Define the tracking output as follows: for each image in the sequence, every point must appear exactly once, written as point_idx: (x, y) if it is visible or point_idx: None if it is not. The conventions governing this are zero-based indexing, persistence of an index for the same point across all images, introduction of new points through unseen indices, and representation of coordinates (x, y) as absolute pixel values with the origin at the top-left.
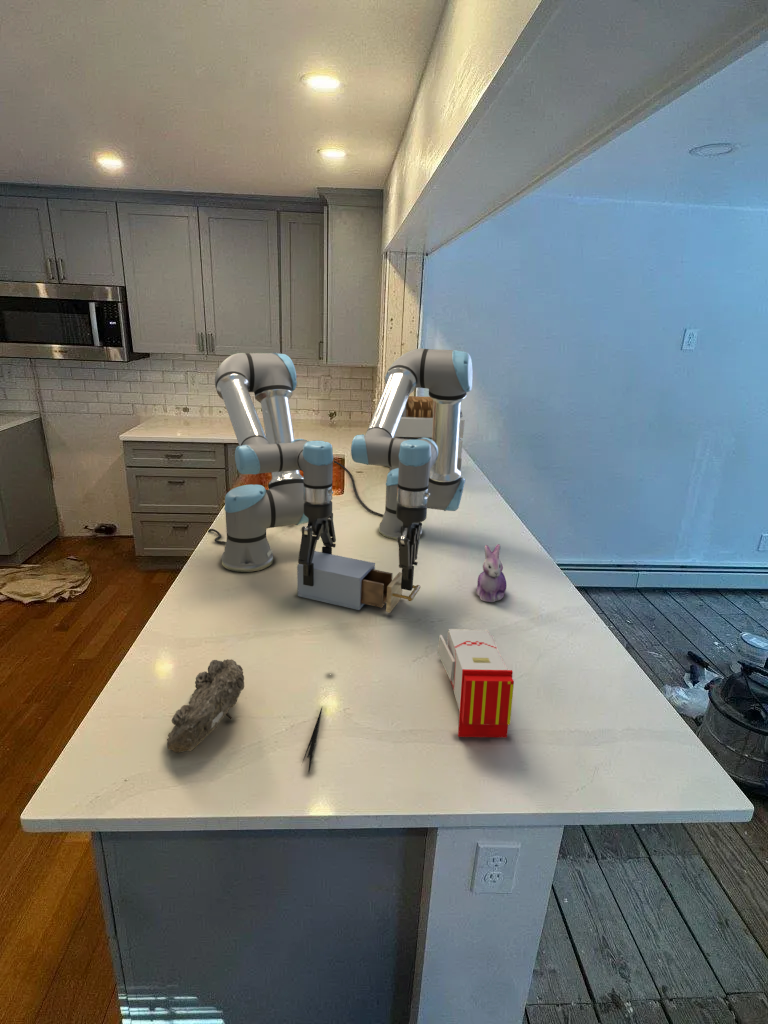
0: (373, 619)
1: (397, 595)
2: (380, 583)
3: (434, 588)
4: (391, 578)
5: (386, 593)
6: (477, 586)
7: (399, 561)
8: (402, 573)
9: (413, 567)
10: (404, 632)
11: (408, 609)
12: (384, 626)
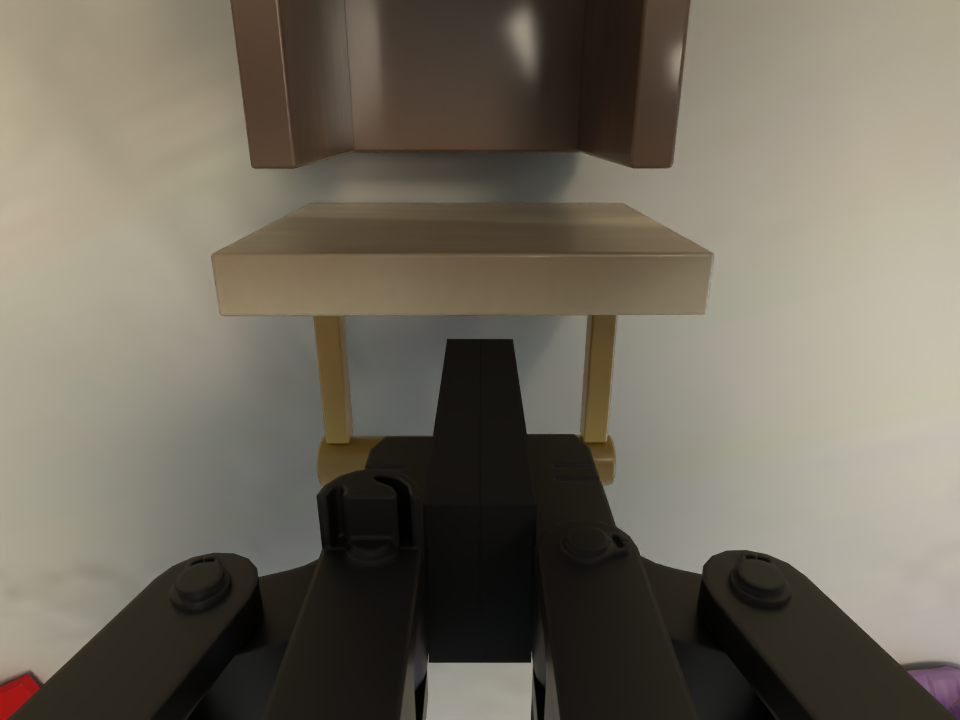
0: (199, 124)
1: (317, 339)
2: (269, 117)
3: (904, 413)
4: (614, 161)
5: (572, 104)
6: (951, 688)
7: (20, 717)
8: (435, 440)
9: (502, 648)
10: (169, 408)
11: (492, 334)
12: (155, 251)
